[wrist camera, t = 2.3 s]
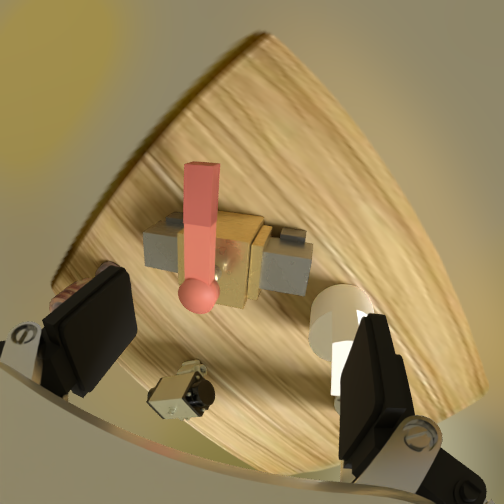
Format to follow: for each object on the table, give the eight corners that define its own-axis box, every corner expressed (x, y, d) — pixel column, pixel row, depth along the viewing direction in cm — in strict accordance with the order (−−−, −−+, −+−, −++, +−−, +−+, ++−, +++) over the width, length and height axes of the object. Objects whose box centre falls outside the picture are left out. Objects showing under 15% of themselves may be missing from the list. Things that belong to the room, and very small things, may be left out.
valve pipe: (315, 224, 37) (313, 267, 26) (305, 280, 40) (298, 337, 29) (167, 204, 40) (116, 234, 29) (168, 256, 43) (124, 298, 32)
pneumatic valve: (165, 362, 53) (137, 406, 42) (213, 350, 49) (188, 402, 38) (182, 381, 55) (158, 426, 44) (230, 372, 50) (209, 424, 40)
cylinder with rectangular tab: (308, 285, 40) (303, 342, 30) (373, 282, 38) (389, 337, 27) (311, 336, 44) (306, 396, 33) (370, 334, 41) (379, 393, 31)
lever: (220, 306, 30) (213, 317, 28) (186, 298, 30) (178, 309, 28) (227, 164, 24) (219, 167, 22) (186, 160, 24) (176, 163, 23)
